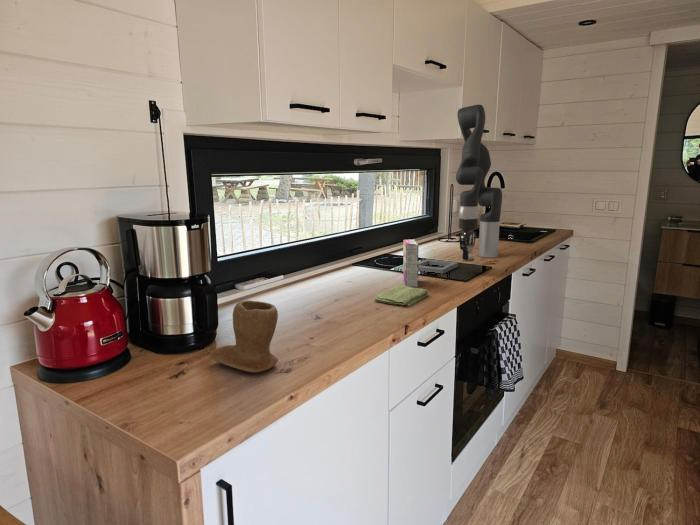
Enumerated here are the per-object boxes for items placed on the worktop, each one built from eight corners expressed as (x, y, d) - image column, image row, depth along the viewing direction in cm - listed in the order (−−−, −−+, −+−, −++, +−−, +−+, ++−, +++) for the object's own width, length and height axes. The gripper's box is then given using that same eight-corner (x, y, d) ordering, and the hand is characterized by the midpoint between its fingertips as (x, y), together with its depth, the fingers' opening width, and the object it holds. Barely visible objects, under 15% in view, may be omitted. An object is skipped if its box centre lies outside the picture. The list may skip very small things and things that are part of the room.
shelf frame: (426, 263, 220) (426, 259, 220) (458, 266, 212) (458, 262, 212) (410, 270, 207) (410, 265, 206) (442, 274, 198) (442, 269, 198)
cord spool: (463, 258, 202) (463, 241, 201) (476, 259, 199) (476, 242, 198) (458, 260, 198) (458, 244, 196) (471, 262, 195) (472, 245, 193)
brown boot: (290, 362, 113) (288, 301, 110) (253, 381, 104) (249, 314, 100) (246, 349, 122) (243, 291, 119) (208, 365, 112) (203, 303, 109)
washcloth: (372, 303, 161) (372, 294, 160) (398, 291, 175) (398, 282, 174) (407, 309, 154) (407, 299, 153) (431, 296, 168) (431, 287, 167)
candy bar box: (402, 280, 190) (402, 239, 186) (415, 280, 190) (415, 239, 186) (405, 287, 179) (405, 244, 176) (418, 287, 179) (419, 243, 175)
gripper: (465, 214, 203) (464, 254, 206) (453, 218, 191) (452, 260, 195) (483, 215, 198) (481, 256, 202) (471, 219, 187) (470, 262, 191)
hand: (467, 258), depth 198 cm, fingers closed on cord spool, 4 cm apart
